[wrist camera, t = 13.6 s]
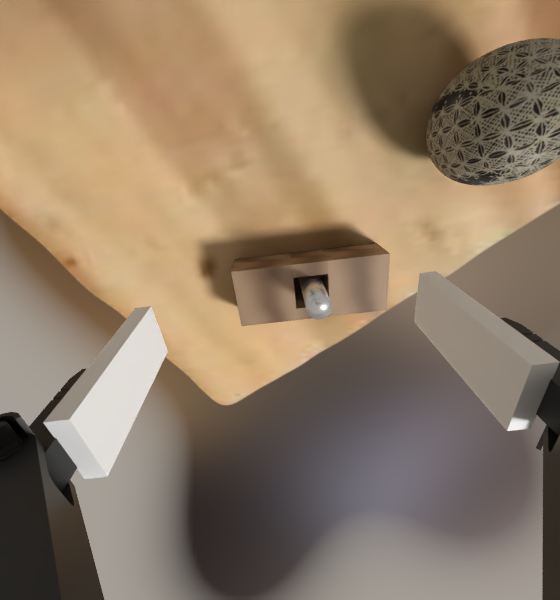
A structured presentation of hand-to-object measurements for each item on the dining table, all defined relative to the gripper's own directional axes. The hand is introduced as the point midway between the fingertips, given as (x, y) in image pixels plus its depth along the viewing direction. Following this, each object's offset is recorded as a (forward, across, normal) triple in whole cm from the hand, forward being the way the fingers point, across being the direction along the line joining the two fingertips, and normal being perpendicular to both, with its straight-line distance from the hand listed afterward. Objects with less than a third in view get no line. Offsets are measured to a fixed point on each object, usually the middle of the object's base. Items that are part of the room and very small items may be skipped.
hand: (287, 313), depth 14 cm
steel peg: (+26, +4, -10) cm, 29 cm away
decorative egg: (+27, +23, +7) cm, 36 cm away
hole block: (+26, +4, -10) cm, 29 cm away
